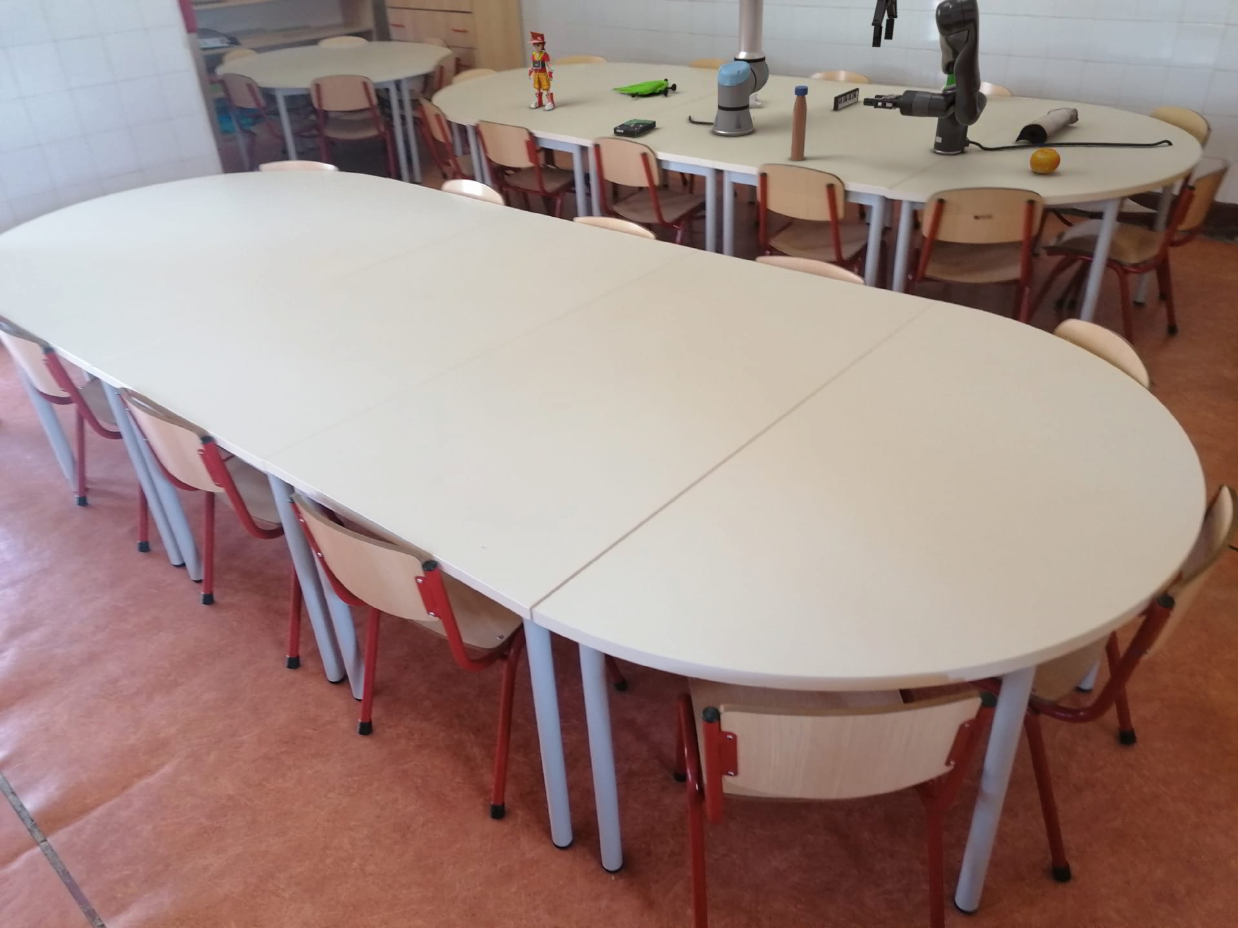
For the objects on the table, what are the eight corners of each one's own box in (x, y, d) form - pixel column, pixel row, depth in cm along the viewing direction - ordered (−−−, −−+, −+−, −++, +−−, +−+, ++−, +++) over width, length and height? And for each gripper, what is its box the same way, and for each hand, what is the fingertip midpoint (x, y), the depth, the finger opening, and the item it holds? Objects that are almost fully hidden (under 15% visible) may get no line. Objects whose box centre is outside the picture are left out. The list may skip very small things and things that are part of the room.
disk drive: (636, 138, 336) (656, 127, 346) (636, 130, 334) (656, 120, 344) (613, 135, 340) (633, 125, 351) (613, 128, 339) (633, 118, 349)
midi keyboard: (835, 110, 353) (837, 97, 350) (833, 110, 354) (834, 97, 351) (858, 101, 363) (859, 88, 361) (855, 101, 364) (856, 88, 361)
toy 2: (686, 85, 398) (631, 84, 414) (685, 72, 395) (629, 72, 411) (651, 104, 381) (596, 103, 397) (650, 92, 378) (594, 91, 394)
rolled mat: (1045, 112, 323) (1070, 95, 315) (1059, 134, 324) (1084, 117, 315) (1011, 136, 306) (1036, 118, 298) (1025, 158, 306) (1051, 141, 298)
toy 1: (525, 109, 381) (517, 32, 364) (534, 104, 388) (527, 28, 371) (550, 110, 377) (543, 32, 360) (559, 105, 384) (553, 28, 367)
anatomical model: (728, 79, 370) (752, 73, 369) (732, 105, 376) (756, 98, 375) (735, 87, 358) (759, 81, 357) (739, 114, 364) (763, 107, 363)
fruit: (1025, 163, 276) (1043, 140, 272) (1023, 166, 283) (1041, 143, 280) (1048, 179, 274) (1067, 155, 271) (1046, 181, 282) (1064, 158, 279)
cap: (810, 94, 291) (810, 87, 290) (798, 96, 290) (799, 89, 289) (803, 92, 295) (804, 85, 293) (792, 94, 294) (792, 86, 292)
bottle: (806, 159, 303) (810, 89, 290) (794, 161, 302) (798, 90, 289) (799, 156, 307) (804, 86, 294) (788, 158, 306) (792, 88, 293)
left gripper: (889, -22, 285) (882, 51, 297) (911, -32, 302) (903, 37, 314) (866, -22, 288) (860, 49, 300) (889, -32, 305) (882, 36, 317)
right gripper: (928, 88, 283) (879, 85, 291) (911, 93, 273) (861, 90, 282) (924, 113, 286) (876, 109, 295) (907, 119, 277) (858, 115, 285)
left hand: (882, 43), depth 307 cm, fingers open, 13 cm apart
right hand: (869, 100), depth 288 cm, fingers open, 8 cm apart
